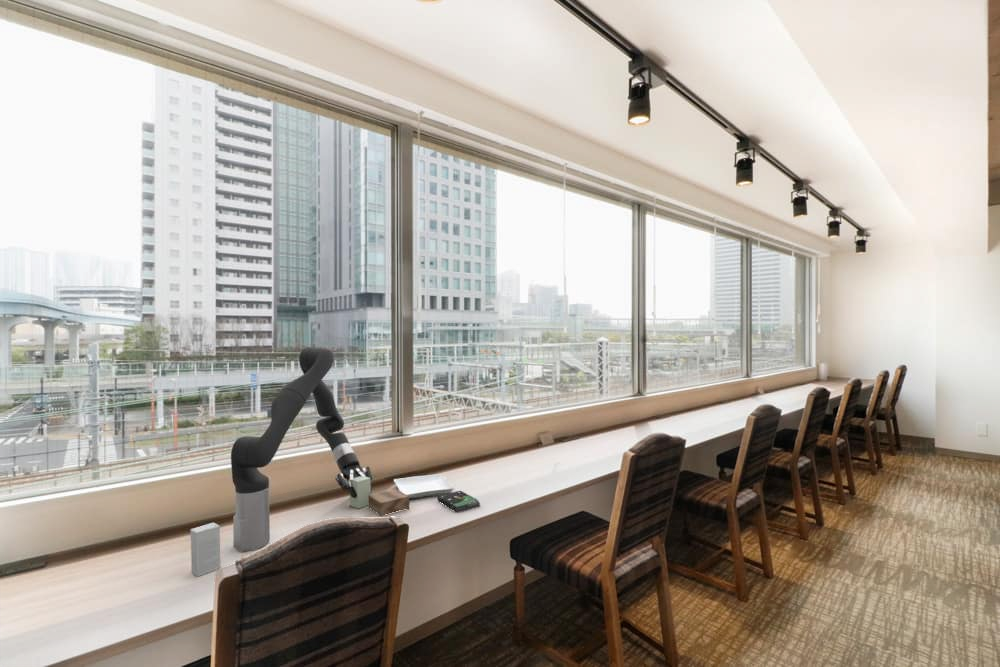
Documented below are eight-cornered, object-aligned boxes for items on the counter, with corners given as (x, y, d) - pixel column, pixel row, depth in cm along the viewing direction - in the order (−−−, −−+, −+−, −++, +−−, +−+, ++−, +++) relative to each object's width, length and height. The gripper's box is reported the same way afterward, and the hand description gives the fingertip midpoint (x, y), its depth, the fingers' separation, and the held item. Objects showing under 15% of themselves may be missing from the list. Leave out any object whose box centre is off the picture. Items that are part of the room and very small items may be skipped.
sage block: (357, 508, 174) (357, 481, 174) (349, 505, 178) (349, 478, 178) (370, 504, 178) (370, 478, 178) (362, 501, 182) (362, 475, 182)
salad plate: (454, 495, 188) (454, 487, 188) (401, 503, 180) (401, 494, 180) (441, 480, 208) (441, 472, 208) (392, 487, 200) (392, 479, 200)
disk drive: (437, 503, 181) (456, 514, 169) (436, 495, 181) (456, 506, 169) (460, 497, 187) (480, 507, 175) (460, 490, 187) (480, 500, 175)
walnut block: (381, 517, 167) (380, 503, 167) (368, 508, 175) (368, 495, 175) (409, 509, 173) (409, 496, 174) (396, 501, 182) (395, 488, 182)
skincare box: (215, 564, 133) (214, 521, 133) (221, 568, 131) (220, 525, 131) (190, 572, 129) (189, 528, 129) (196, 577, 126) (195, 532, 126)
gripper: (332, 455, 178) (349, 494, 170) (365, 448, 188) (383, 484, 180) (325, 467, 181) (341, 505, 173) (358, 459, 192) (375, 495, 184)
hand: (362, 494), depth 177 cm, fingers closed on sage block, 5 cm apart
